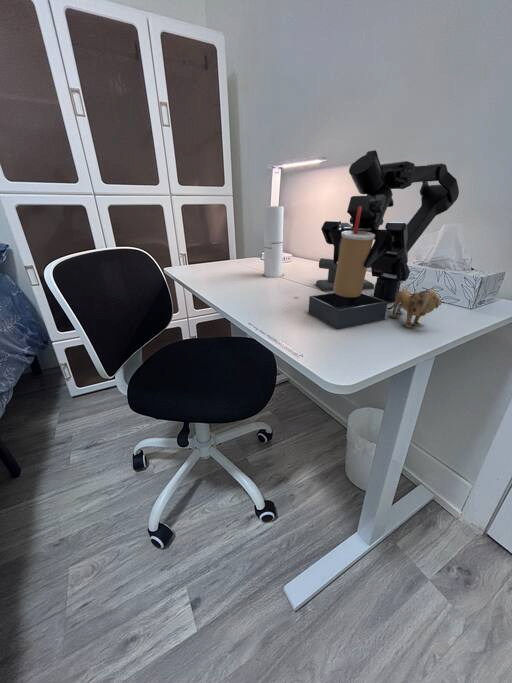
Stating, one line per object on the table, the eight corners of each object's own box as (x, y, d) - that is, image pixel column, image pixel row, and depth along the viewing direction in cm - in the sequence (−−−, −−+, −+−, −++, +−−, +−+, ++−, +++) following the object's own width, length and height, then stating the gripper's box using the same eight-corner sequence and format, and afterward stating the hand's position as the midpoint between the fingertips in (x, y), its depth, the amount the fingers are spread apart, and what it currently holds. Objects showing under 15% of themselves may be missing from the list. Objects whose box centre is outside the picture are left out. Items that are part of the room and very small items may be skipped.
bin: (351, 305, 81) (353, 289, 79) (384, 319, 71) (388, 301, 69) (308, 312, 76) (309, 296, 74) (337, 329, 66) (339, 310, 64)
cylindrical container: (282, 277, 113) (284, 206, 102) (264, 277, 113) (264, 206, 102) (281, 272, 120) (282, 206, 109) (264, 273, 120) (263, 206, 109)
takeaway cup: (350, 285, 74) (366, 203, 64) (368, 295, 69) (388, 207, 59) (326, 288, 72) (339, 204, 62) (343, 299, 67) (360, 208, 56)
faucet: (354, 277, 111) (361, 220, 102) (375, 288, 96) (385, 223, 88) (308, 279, 109) (312, 222, 100) (322, 291, 94) (328, 225, 86)
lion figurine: (438, 331, 64) (449, 291, 60) (417, 334, 63) (427, 293, 59) (395, 310, 77) (402, 276, 73) (377, 311, 76) (383, 277, 72)
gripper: (328, 183, 67) (301, 238, 64) (416, 178, 57) (389, 244, 54) (338, 218, 76) (316, 268, 73) (416, 219, 66) (393, 277, 63)
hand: (349, 264), depth 66 cm, fingers closed on takeaway cup, 7 cm apart
